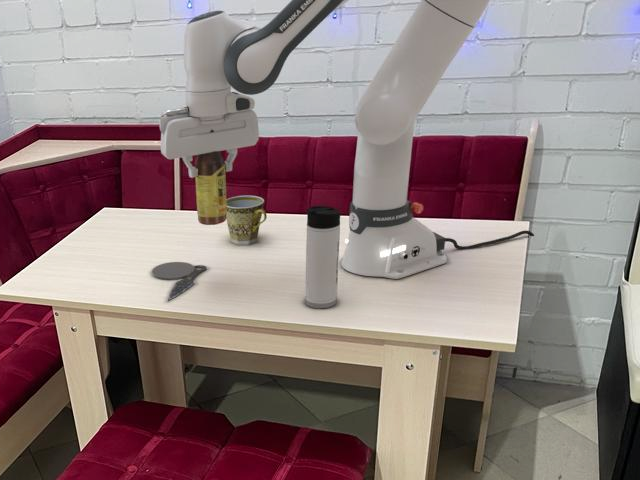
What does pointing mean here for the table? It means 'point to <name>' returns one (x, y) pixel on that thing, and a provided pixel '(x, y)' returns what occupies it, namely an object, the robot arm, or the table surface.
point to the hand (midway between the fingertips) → (210, 173)
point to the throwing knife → (186, 282)
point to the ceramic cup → (244, 218)
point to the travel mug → (322, 256)
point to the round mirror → (173, 270)
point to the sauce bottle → (211, 188)
